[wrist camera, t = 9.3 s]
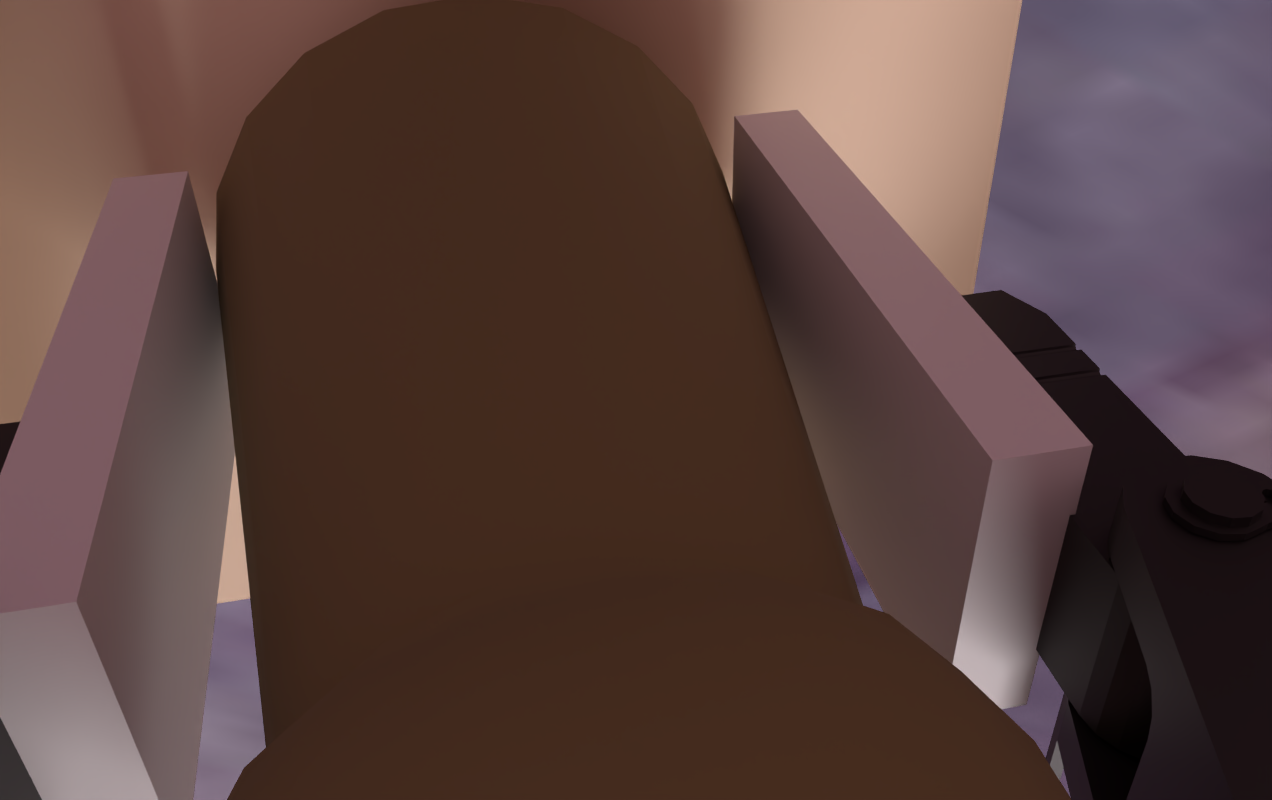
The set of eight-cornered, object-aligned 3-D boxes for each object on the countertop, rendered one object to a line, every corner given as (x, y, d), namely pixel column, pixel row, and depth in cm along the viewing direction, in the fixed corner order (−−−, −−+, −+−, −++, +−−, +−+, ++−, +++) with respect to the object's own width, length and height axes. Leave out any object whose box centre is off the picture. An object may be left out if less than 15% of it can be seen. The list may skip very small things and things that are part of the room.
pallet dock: (85, 464, 20) (37, 631, 17) (-226, -364, 13) (-407, -349, 10) (854, 360, 22) (940, 490, 19) (931, -400, 15) (1089, -397, 12)
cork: (629, 491, 16) (973, 1553, 7) (173, 415, 14) (-106, 1782, 5) (807, 86, 13) (1705, 1029, 5) (270, -87, 11) (11, 1062, 2)
